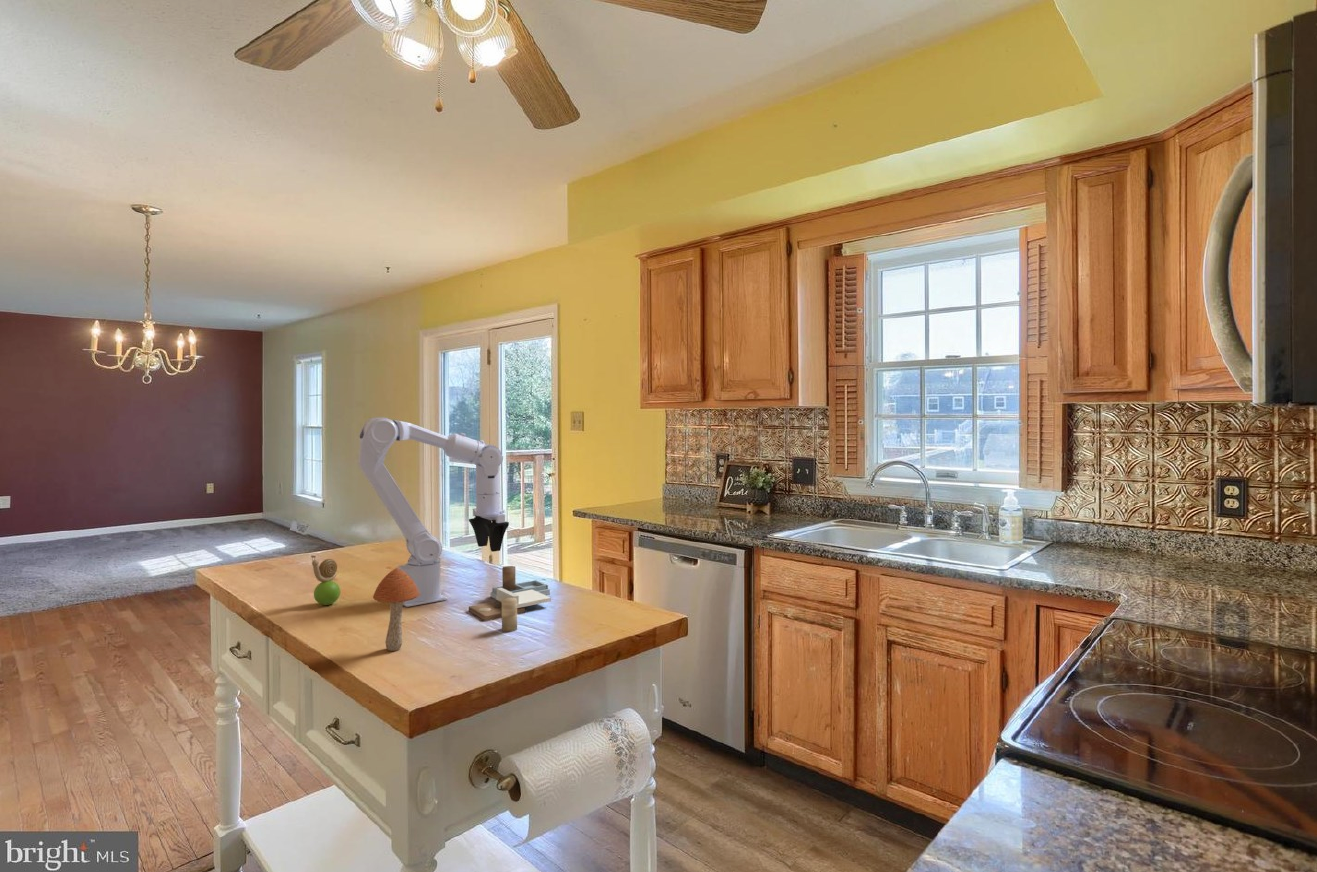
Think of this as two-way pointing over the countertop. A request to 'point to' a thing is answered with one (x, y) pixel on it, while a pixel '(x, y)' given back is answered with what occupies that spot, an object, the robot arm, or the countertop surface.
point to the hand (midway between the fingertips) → (489, 548)
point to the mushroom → (395, 602)
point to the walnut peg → (509, 578)
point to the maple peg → (509, 614)
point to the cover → (523, 597)
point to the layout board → (490, 610)
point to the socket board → (526, 588)
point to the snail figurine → (326, 581)
